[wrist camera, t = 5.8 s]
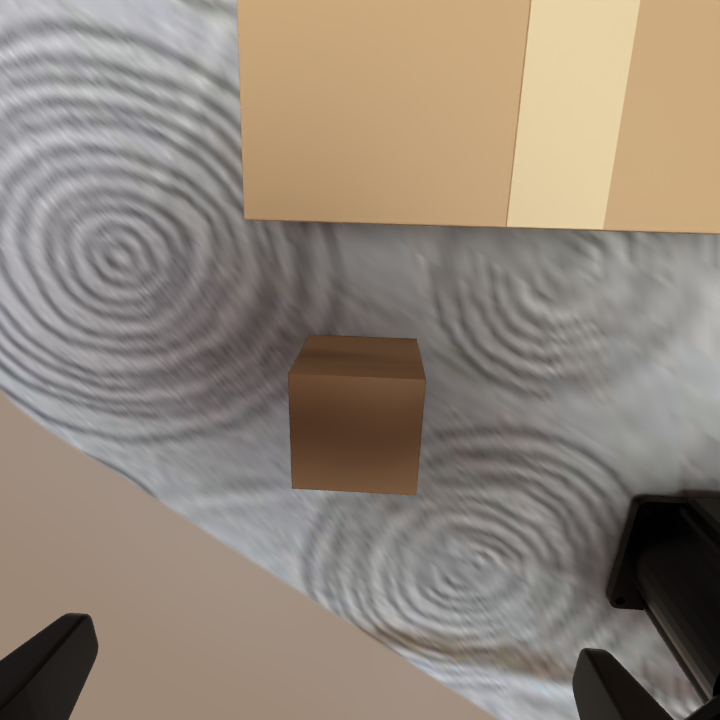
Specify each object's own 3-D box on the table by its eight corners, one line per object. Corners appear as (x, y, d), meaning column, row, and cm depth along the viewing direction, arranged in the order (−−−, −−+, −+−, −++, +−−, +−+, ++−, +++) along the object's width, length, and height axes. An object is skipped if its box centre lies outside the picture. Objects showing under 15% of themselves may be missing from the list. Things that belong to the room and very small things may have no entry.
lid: (855, 238, 11) (885, 237, 11) (251, 220, 12) (243, 218, 11) (1008, -268, 9) (1060, -311, 8) (236, -258, 10) (225, -297, 9)
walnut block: (409, 432, 20) (416, 495, 16) (311, 427, 20) (292, 488, 16) (416, 338, 18) (425, 379, 14) (310, 334, 19) (288, 374, 14)
